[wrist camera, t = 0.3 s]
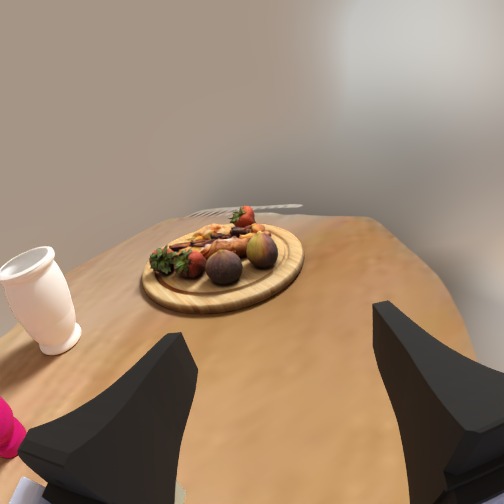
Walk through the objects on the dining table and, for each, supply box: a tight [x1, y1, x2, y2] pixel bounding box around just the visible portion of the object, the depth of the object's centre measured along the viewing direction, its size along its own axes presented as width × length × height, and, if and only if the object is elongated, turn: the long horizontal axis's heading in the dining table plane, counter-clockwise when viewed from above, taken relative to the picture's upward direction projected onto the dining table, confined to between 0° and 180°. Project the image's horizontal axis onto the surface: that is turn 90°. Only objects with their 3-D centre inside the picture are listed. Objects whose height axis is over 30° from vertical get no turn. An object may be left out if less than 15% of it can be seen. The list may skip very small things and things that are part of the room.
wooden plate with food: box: [142, 206, 305, 314], centre depth 60 cm, size 32×32×8 cm
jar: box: [0, 246, 81, 355], centre depth 40 cm, size 11×10×15 cm
